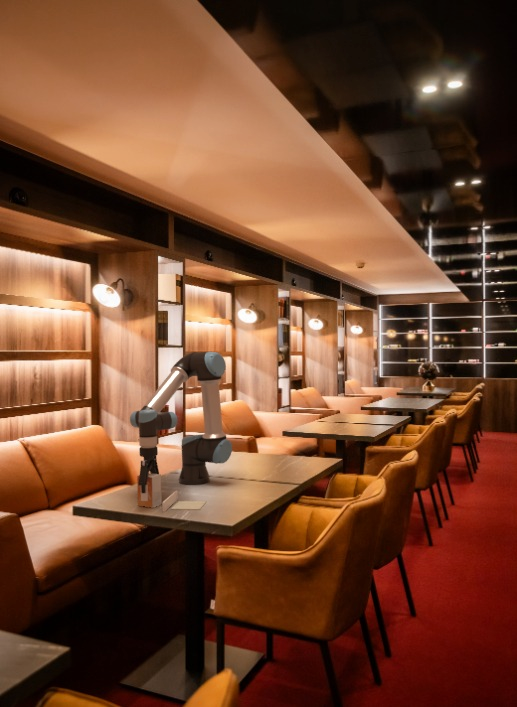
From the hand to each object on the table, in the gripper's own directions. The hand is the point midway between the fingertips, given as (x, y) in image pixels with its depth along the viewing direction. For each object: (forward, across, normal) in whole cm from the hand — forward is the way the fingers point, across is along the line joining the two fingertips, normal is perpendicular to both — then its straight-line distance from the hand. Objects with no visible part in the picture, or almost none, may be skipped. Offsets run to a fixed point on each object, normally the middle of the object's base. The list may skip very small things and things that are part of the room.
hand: (149, 496), depth 250 cm
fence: (+4, 0, +9) cm, 10 cm away
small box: (+4, 0, 0) cm, 4 cm away
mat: (+4, 0, +17) cm, 17 cm away
